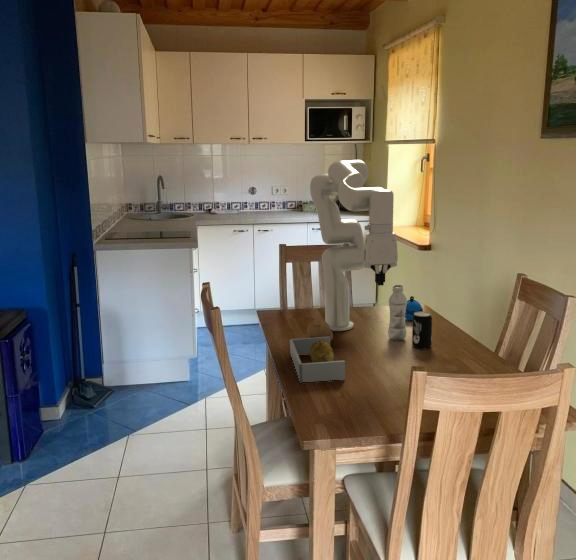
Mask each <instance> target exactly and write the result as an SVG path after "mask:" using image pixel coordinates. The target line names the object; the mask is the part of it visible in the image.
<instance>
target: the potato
mask: <svg viewBox="0 0 576 560" xmlns="http://www.w3.org/2000/svg"><path fill="white" fill-rule="evenodd" d="M309 356H310V359H311V363H317V362H330V361H335V355H334V349H333V348H332V347H331V343H330V344H329V342H327V341H324V340H318V341H316V342H314V343H313V344H312V346H311V349H310V355H309Z"/></svg>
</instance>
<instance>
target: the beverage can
mask: <svg viewBox="0 0 576 560" xmlns="http://www.w3.org/2000/svg"><path fill="white" fill-rule="evenodd" d="M411 326H412V328H411V329H412V332H411V334H412V335H411V336H412V337H411V344H412V346H413V347H414V348H415V349H419V350H427V349H429V348H431V346H432V340H433V337H432V336H433V334H432V333H433V317H432V313H430V312H429V311H424V310H423V311H419V312H415V313H414V316H413V321H412V325H411Z"/></svg>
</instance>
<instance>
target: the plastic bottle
mask: <svg viewBox="0 0 576 560" xmlns="http://www.w3.org/2000/svg"><path fill="white" fill-rule="evenodd" d="M391 291H392V293H391V295H390V296H389V298H388V307H389V325H388V330H387V335H388V338H389V339H390V340H393V341H403V340H405V339H406V336H407V326H406V318H405V312H406V305H407V301H408V299H407V297H406V295H405V293H403V292H404V285H402V284H393V285H392V290H391Z"/></svg>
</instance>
